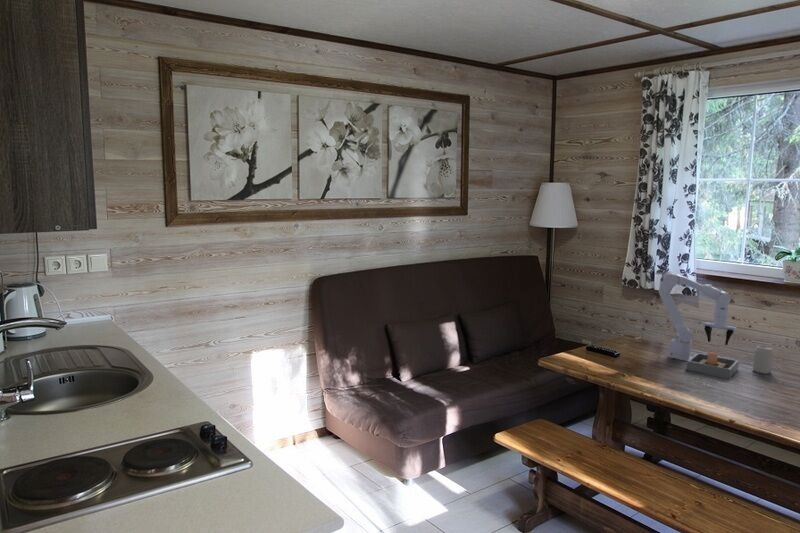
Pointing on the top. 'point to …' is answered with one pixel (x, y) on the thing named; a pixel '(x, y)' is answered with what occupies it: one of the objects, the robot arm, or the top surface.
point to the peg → (712, 358)
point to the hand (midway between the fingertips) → (717, 343)
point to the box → (722, 369)
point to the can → (763, 359)
